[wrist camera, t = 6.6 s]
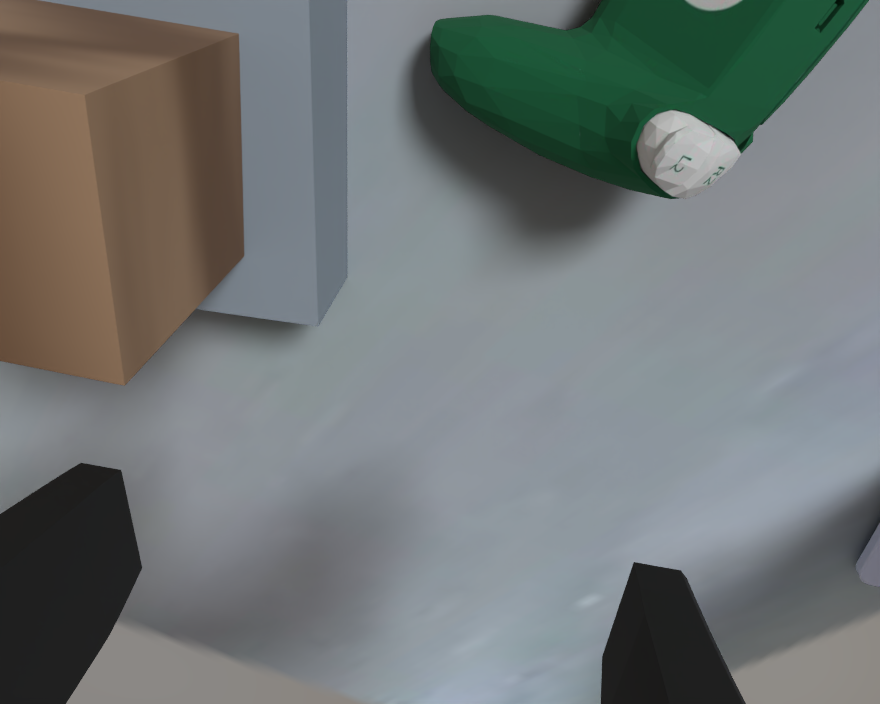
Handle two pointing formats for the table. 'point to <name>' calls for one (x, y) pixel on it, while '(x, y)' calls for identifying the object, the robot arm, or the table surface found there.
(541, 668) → the table surface
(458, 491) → the table surface
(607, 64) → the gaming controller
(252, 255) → the slate block
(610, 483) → the table surface
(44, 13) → the walnut block
